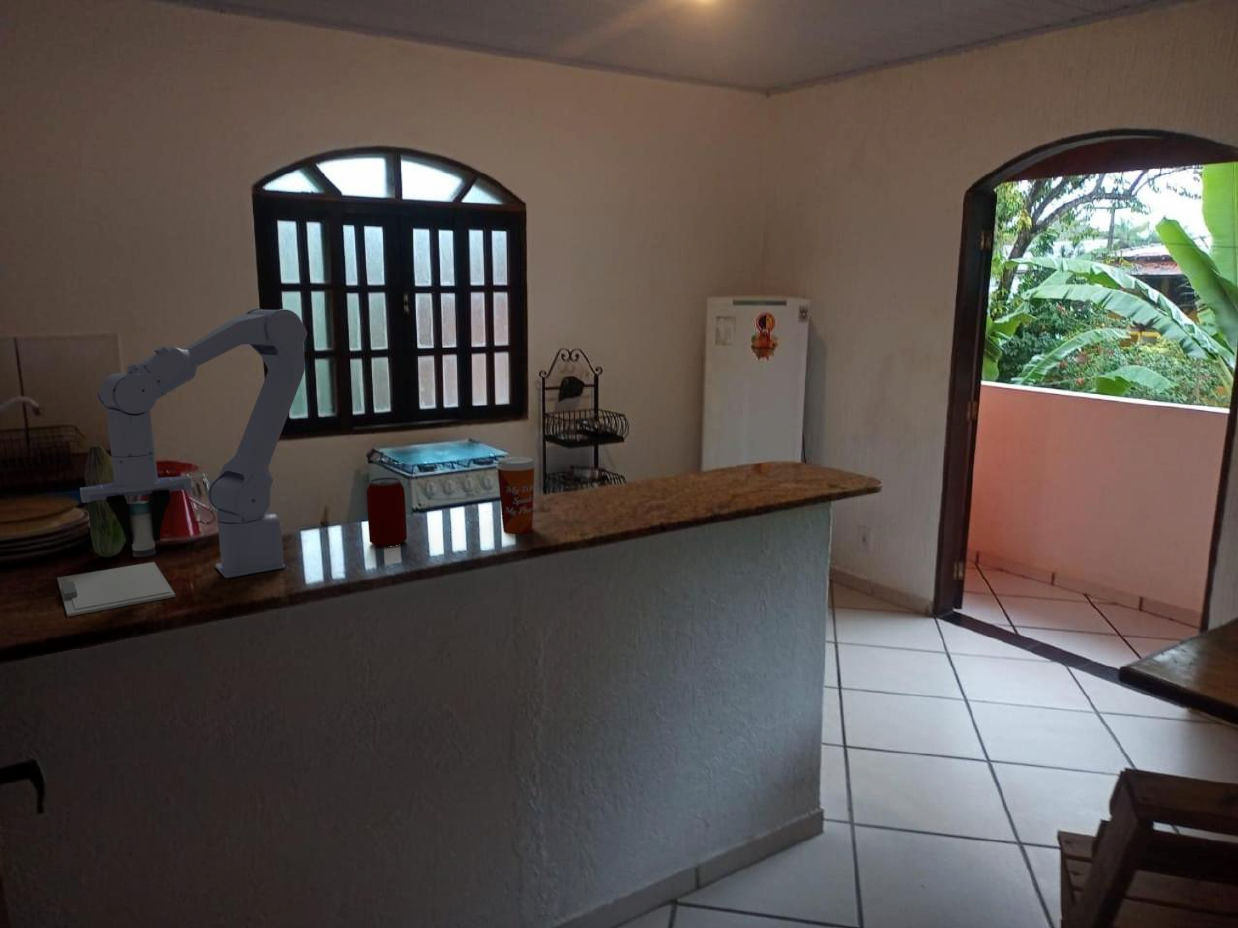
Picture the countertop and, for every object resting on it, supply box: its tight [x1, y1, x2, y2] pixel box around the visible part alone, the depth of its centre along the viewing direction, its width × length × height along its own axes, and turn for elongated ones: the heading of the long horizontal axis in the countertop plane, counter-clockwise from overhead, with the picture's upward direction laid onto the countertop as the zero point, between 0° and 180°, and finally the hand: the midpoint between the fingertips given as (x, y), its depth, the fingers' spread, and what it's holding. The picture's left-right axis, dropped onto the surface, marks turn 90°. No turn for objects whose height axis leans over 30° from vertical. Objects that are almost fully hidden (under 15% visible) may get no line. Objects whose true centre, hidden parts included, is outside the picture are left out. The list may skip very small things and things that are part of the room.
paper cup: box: [495, 456, 537, 535], centre depth 167 cm, size 8×8×14 cm
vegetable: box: [84, 444, 129, 558], centre depth 149 cm, size 6×6×20 cm
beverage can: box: [366, 477, 408, 548], centre depth 158 cm, size 7×7×12 cm
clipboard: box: [57, 561, 176, 618], centre depth 135 cm, size 14×20×1 cm
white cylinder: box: [128, 500, 156, 558], centre depth 130 cm, size 3×3×8 cm
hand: (143, 541), depth 131 cm, fingers closed on white cylinder, 3 cm apart
